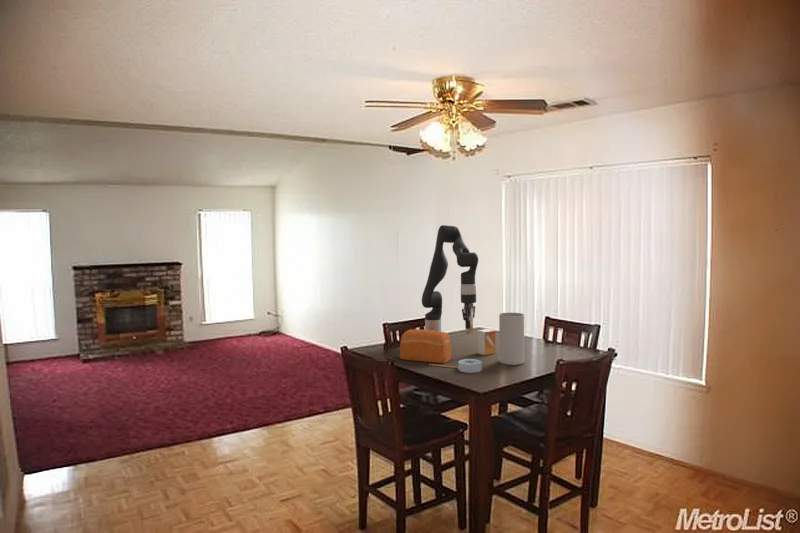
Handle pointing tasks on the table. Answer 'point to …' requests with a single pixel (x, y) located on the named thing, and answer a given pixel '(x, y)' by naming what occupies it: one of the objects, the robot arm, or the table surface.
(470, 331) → the dowel
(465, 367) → the bead
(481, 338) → the small box
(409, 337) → the bread
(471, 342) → the table surface
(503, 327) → the cylinder vase
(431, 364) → the wooden stick
